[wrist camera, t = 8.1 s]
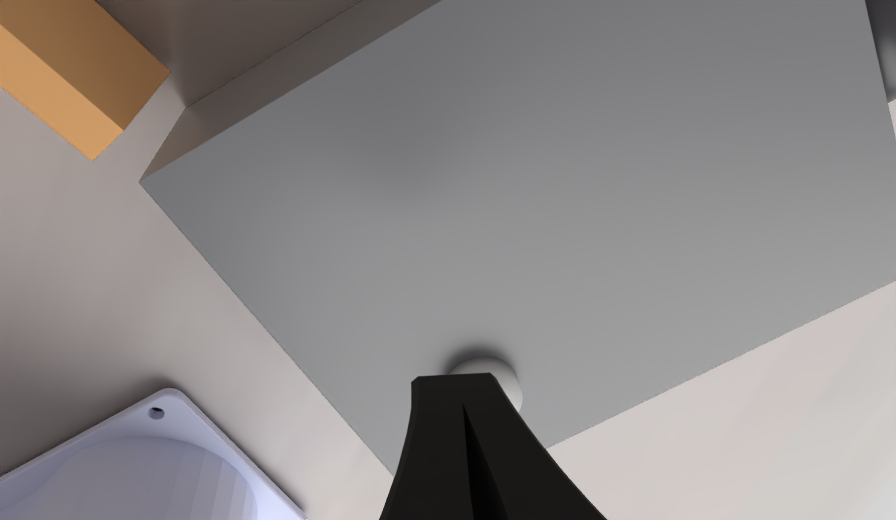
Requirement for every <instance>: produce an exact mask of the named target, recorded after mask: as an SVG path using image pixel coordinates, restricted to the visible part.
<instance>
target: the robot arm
mask: <svg viewBox="0 0 896 520" xmlns="http://www.w3.org/2000/svg"><path fill="white" fill-rule="evenodd" d="M153 407H157V408H160V409H162V410H163V411H161V412H159V411H155V410H153V409H152V408H153ZM0 520H307V516H306V515H305V514H304V513H303V512H302V511H301V510H300V509H299V508H298V507H297V506H296V505H295V504H294V503H293V502H292V501H291V500H290V499H289V498H288V497H287V496H286V495H285V494H284V493H283V492H282V491H281V490H280V489H279V488H278V487H277V486H276V485H275V484H274V483H273V482H272V481H271V480H270V479H269V478H268V477H267V476H266V475H265V474H264V473H263V472H262V471H261V470H260V469H259V468H258V467H257V466H256V465H255V464H254V463H253V462H252V461H251V460H250V459H249V458H248V457H247V456H246V455H245V454H244V453H243V452H242V451H241V450H240V449H239V448H238V447H237V446H236V445H235V444H234V443H233V442H232V441H231V440H230V439H229V438H228V437H227V436H226V435H225V434H224V433H223V432H222V431H221V430H220V429H219V428H218V427H217V426H216V425H215V424H214V423H213V422H212V421H211V420H210V419H209V418H208V417H207V416H206V415H205V414H204V413H203V412H202V411H201V410H200V409H199V408H198V407H197V406H196V405H195V404H194V403H193V402H192V401H191V400H190V399H189V398H188V397H187V396H186V395H185V394H184V393H182V392H181V391H179V390H177V389H174V388H165V389H162V390H160V391H158V392H156V393H154V394H152V395H150V396H149V397H147V398H145V399H143V400H141V401H139V402H138V403H136V404H134V405H132V406H130V407H128V408H126V409H125V410H123V411H121V412H119V413H117V414H115V415H114V416H112V417H110V418H108V419H106V420H104V421H103V422H101V423H99V424H97V425H95V426H93V427H92V428H90V429H88V430H86V431H84V432H82V433H80V434H79V435H77V436H75V437H73V438H71V439H69V440H68V441H66V442H64V443H62V444H60V445H58V446H57V447H55V448H53V449H51V450H49V451H47V452H46V453H44V454H42V455H40V456H38V457H36V458H34V459H33V460H31V461H29V462H27V463H25V464H23V465H22V466H20V467H18V468H16V469H14V470H12V471H11V472H9V473H7V474H5V475H3V476H1V477H0ZM379 520H607V519H606V518H605V517H604V516H603V515H602V514H601V513H600V512H599V511H598V510H597V509H596V507H595V506H594V505H593V504H592V503H591V502H590V501H589V500H588V499H587V498H586V497H585V496H584V494H583V493H582V492H581V491H580V490H579V489H578V488H577V487H576V485H575V484H574V483H573V482H572V481H571V480H570V479H569V478H568V476H567V475H566V474H565V473H564V472H563V470H562V469H561V468H560V467H559V466H558V464H557V463H556V462H555V461H554V459H553V458H552V457H551V456H550V454H549V453H548V452H547V451H546V449H545V448H544V447H543V445H542V444H541V443H540V442H539V440H538V439H537V438H536V436H535V435H534V434H533V432H532V431H531V430H530V428H529V427H528V426H527V424H526V423H525V421H524V420H523V419H522V417H521V416H520V414H519V413H518V412H517V410H516V409H515V407H514V406H513V404H512V403H511V401H510V400H509V398H508V397H507V395H506V393H505V392H504V390H503V389H502V387H501V385H500V384H499V382H498V380H497V379H496V377H495V376H493V375H492V374H491V373H490V372H489V373H470V374H451V375H432V376H418V377H416V378H415V379H414V380H413V381H412V382H411V412H410V418H409V423H408V429H407V434H406V438H405V442H404V445H403V449H402V453H401V457H400V460H399V464H398V468H397V471H396V474H395V477H394V480H393V483H392V486H391V488H390V491H389V494H388V497H387V500H386V503H385V506H384V508H383V511H382V514H381V516H380V519H379Z"/></svg>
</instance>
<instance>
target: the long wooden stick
mask: <svg viewBox="0 0 896 520" xmlns="http://www.w3.org/2000/svg"><path fill="white" fill-rule="evenodd" d="M170 73H171V72H170V71H169V70H168V69H167V68H166V67H165V66H164V65H163V64H162V63H161V62H160V61H159V60H158V59H156V58H155V57H154V56H153V55H152V54H151V53H150V52H149V51H148V50H147V49H146V48H145V47H144V46H143V45H141V44H140V43H139V42H138V41H137V40H136V39H135V38H134V37H133V36H132V35H131V34H130V33H129V32H128V31H127V30H125V29H124V28H123V27H122V26H121V25H120V24H119V23H118V22H117V21H116V20H115V19H114V18H113V17H112V16H110V15H109V14H108V13H107V12H106V11H105V10H104V9H103V8H102V7H101V6H100V5H99V4H98V3H97V2H96V1H94V0H0V86H1V87H2V88H3V89H4V90H6V91H7V92H8V93H9V94H10V95H12V96H13V97H14V98H15V99H17V100H18V101H19V102H20V103H21V104H23V105H24V106H25V107H26V108H28V109H29V110H30V111H31V112H32V113H34V114H35V115H36V116H37V117H39V118H40V119H41V120H42V121H43V122H45V123H46V124H47V125H48V126H50V127H51V128H52V129H53V130H54V131H56V132H57V133H58V134H59V135H61V136H62V137H63V138H64V139H65V140H67V141H68V142H69V143H70V144H72V145H73V146H74V147H75V148H76V149H78V150H79V151H80V152H81V153H83V154H84V155H85V156H86V157H87V158H89V159H90V160H91V161H93V160H94V159H95V158H96V157H97V156H98V155H99V154H100V153H101V152H102V151H103V150H104V149H105V148H106V147H108V146H109V145H110V144H111V143H112V142H113V141H114V140H115V139H116V138H117V137H118V136H119V135H120V134H121V133H122V132H123V131H124V130H125V129H126V127H127V126H128V125H129V124H130V122H131V121H132V120H133V119H134V117H135V116H136V115H137V114H138V112H139V111H140V110H141V109H142V108H143V106H144V105H145V104H146V103H147V101H148V100H149V99H150V98H151V96H152V95H153V94H154V93H155V91H156V90H157V89H158V88H159V86H160V85H161V84H162V83H163V81H164V80H165V79H166V78H167V76H168V75H169V74H170Z"/></svg>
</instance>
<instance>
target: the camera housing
mask: <svg viewBox="0 0 896 520" xmlns="http://www.w3.org/2000/svg"><path fill="white" fill-rule="evenodd" d="M894 99H896V0H362V1H361V2H359V3H357V4H356V5H354V6H352V7H351V8H349V9H347V10H346V11H344V12H342V13H341V14H339V15H338V16H336V17H334V18H333V19H331V20H329V21H328V22H326V23H324V24H323V25H321V26H320V27H318V28H316V29H315V30H313V31H311V32H310V33H308V34H306V35H305V36H303V37H302V38H300V39H298V40H297V41H295V42H293V43H292V44H290V45H288V46H287V47H285V48H284V49H282V50H280V51H279V52H277V53H275V54H274V55H272V56H270V57H269V58H267V59H266V60H264V61H262V62H261V63H259V64H257V65H256V66H254V67H252V68H251V69H249V70H248V71H246V72H244V73H243V74H241V75H239V76H238V77H236V78H234V79H233V80H231V81H229V82H228V83H226V84H225V85H223V86H221V87H220V88H218V89H216V90H215V91H213V92H211V93H210V94H208V95H207V96H205V97H203V98H202V99H200V100H198V101H197V102H195V103H193V104H192V105H190V106H189V107H187V108H185V110H184V111H183V113H182V115H181V116H180V118H179V119H178V121H177V122H176V124H175V126H174V127H173V129H172V130H171V132H170V133H169V135H168V137H167V138H166V140H165V141H164V143H163V144H162V146H161V148H160V149H159V151H158V152H157V154H156V155H155V157H154V159H153V160H152V162H151V163H150V165H149V166H148V168H147V170H146V171H145V173H144V174H143V176H142V177H141V179H140V181H139V183H140V185H141V186H142V187H143V188H144V189H145V190H146V192H147V193H148V194H149V195H150V196H151V197H152V198H153V200H154V201H155V202H156V203H157V204H158V205H159V207H160V208H161V209H162V210H163V211H164V212H165V213H166V215H167V216H168V217H169V218H170V219H171V220H172V222H173V223H174V224H175V225H176V226H177V227H178V228H179V230H180V231H181V232H182V233H183V234H184V235H185V237H186V238H187V239H188V240H189V241H190V242H191V243H192V245H193V246H194V247H195V248H196V249H197V250H198V252H199V253H200V254H201V255H202V256H203V257H204V258H205V260H206V261H207V262H208V263H209V264H210V265H211V267H212V268H213V269H214V270H215V271H216V272H217V273H218V275H219V276H220V277H221V278H222V279H223V280H224V282H225V283H226V284H227V285H228V286H229V287H230V288H231V290H232V291H233V292H234V293H235V294H236V295H237V297H238V298H239V299H240V300H241V301H242V302H243V303H244V305H245V306H246V307H247V308H248V309H249V310H250V312H251V313H252V314H253V315H254V316H255V317H256V318H257V320H258V321H259V322H260V323H261V324H262V325H263V327H264V328H265V329H266V330H267V331H268V332H269V333H270V335H271V336H272V337H273V338H274V339H275V340H276V342H277V343H278V344H279V345H280V346H281V347H282V348H283V350H284V351H285V352H286V353H287V354H288V355H289V357H290V358H291V359H292V360H293V361H294V362H295V363H296V365H297V366H298V367H299V368H300V369H301V370H302V372H303V373H304V374H305V375H306V376H307V377H308V378H309V380H310V381H311V382H312V383H313V384H314V385H315V387H316V388H317V389H318V390H319V391H320V392H321V393H322V395H323V396H324V397H325V398H326V399H327V400H328V402H329V403H330V404H331V405H332V406H333V407H334V409H335V410H336V411H337V412H338V413H339V414H340V415H341V417H342V418H343V419H344V420H345V421H346V422H347V424H348V425H349V426H350V427H351V428H352V429H353V430H354V432H355V433H356V434H357V435H358V436H359V437H360V439H361V440H362V441H363V442H364V443H365V444H366V445H367V447H368V448H369V449H370V450H371V451H372V452H373V454H374V455H375V456H376V457H377V458H378V459H379V460H380V462H381V463H382V464H383V465H384V466H385V467H386V469H387V470H388V471H389V472H390V473H391V474H392V475H393V477H395V474H396V471H397V468H398V464H399V460H400V457H401V453H402V449H403V445H404V442H405V438H406V434H407V429H408V423H409V418H410V412H411V382H412V381H413V380H414V379H415V378H416V377H418V376H432V375H451V374H470V373H489V372H490V373H491V374H492V375H493V376H495V377H496V379H497V380H498V382H499V384H500V385H501V387H502V389H503V390H504V392H505V393H506V395H507V397H508V398H509V400H510V401H511V403H512V404H513V406H514V407H515V409H516V410H517V412H518V413H519V414H520V416H521V417H522V419H523V420H524V421H525V423H526V424H527V426H528V427H529V428H530V430H531V431H532V432H533V434H534V435H535V436H536V438H537V439H538V440H539V442H540V443H541V444H542V445H543V447H544V448H545V449H547V448H549V447H551V446H553V445H555V444H557V443H559V442H562V441H564V440H566V439H568V438H570V437H572V436H574V435H576V434H578V433H580V432H582V431H584V430H586V429H589V428H591V427H593V426H595V425H597V424H599V423H601V422H603V421H605V420H607V419H609V418H611V417H613V416H616V415H618V414H620V413H622V412H624V411H626V410H628V409H630V408H632V407H634V406H636V405H638V404H640V403H642V402H645V401H647V400H649V399H651V398H653V397H655V396H657V395H659V394H661V393H663V392H665V391H667V390H669V389H672V388H674V387H676V386H678V385H680V384H682V383H684V382H686V381H688V380H690V379H692V378H694V377H696V376H699V375H701V374H703V373H705V372H707V371H709V370H711V369H713V368H715V367H717V366H719V365H721V364H723V363H726V362H728V361H730V360H732V359H734V358H736V357H738V356H740V355H742V354H744V353H746V352H748V351H750V350H753V349H755V348H757V347H759V346H761V345H763V344H765V343H767V342H769V341H771V340H773V339H775V338H777V337H780V336H782V335H784V334H786V333H788V332H790V331H792V330H794V329H796V328H798V327H800V326H802V325H804V324H807V323H809V322H811V321H813V320H815V319H817V318H819V317H821V316H823V315H825V314H827V313H829V312H831V311H834V310H836V309H838V308H840V307H842V306H844V305H846V304H848V303H850V302H852V301H854V300H856V299H858V298H861V297H863V296H865V295H867V294H869V293H871V292H873V291H875V290H877V289H879V288H881V287H883V286H885V285H888V284H890V283H892V282H894V281H896V138H895V134H894V129H893V125H892V120H891V116H890V111H889V107H888V103H889V102H891V101H893V100H894Z"/></svg>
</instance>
